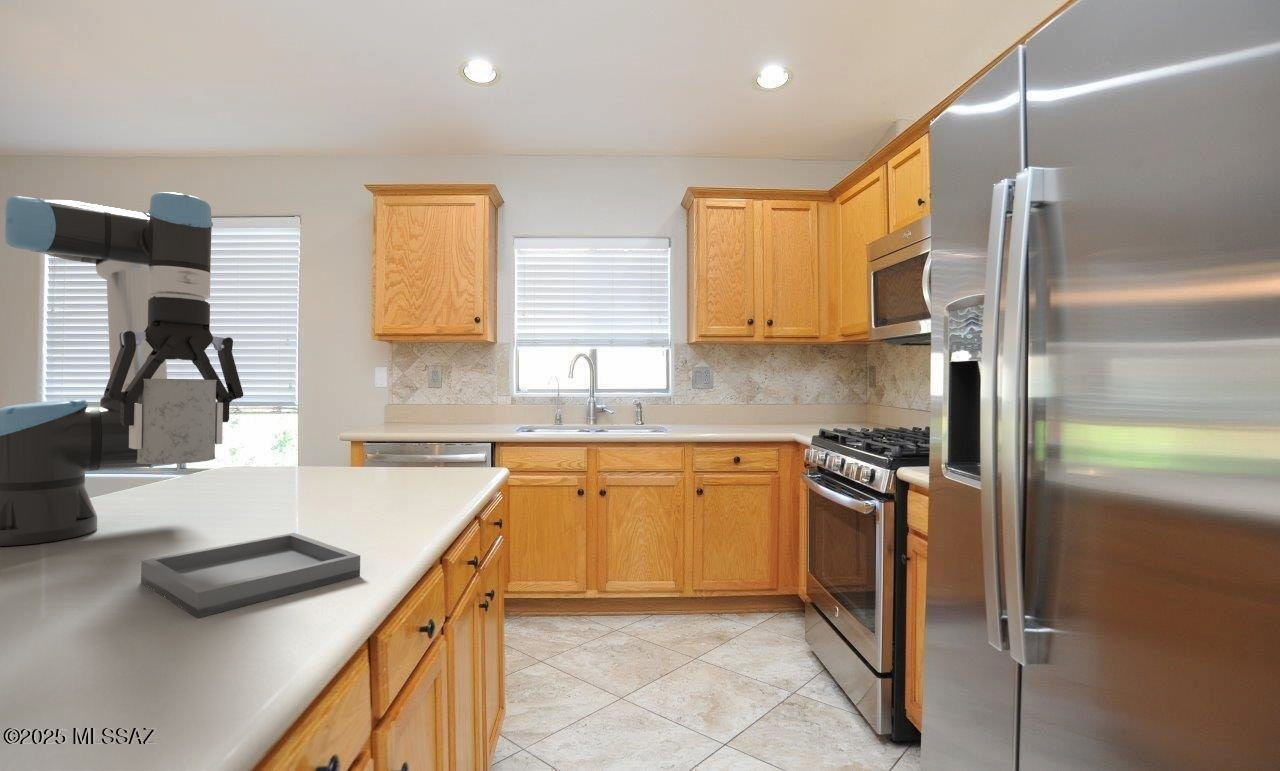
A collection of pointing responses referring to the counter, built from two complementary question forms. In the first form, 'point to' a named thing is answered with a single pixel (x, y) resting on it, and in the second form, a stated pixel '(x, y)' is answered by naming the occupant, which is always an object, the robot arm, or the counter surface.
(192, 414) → the speckled white tin can
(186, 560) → the tray
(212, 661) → the counter surface
